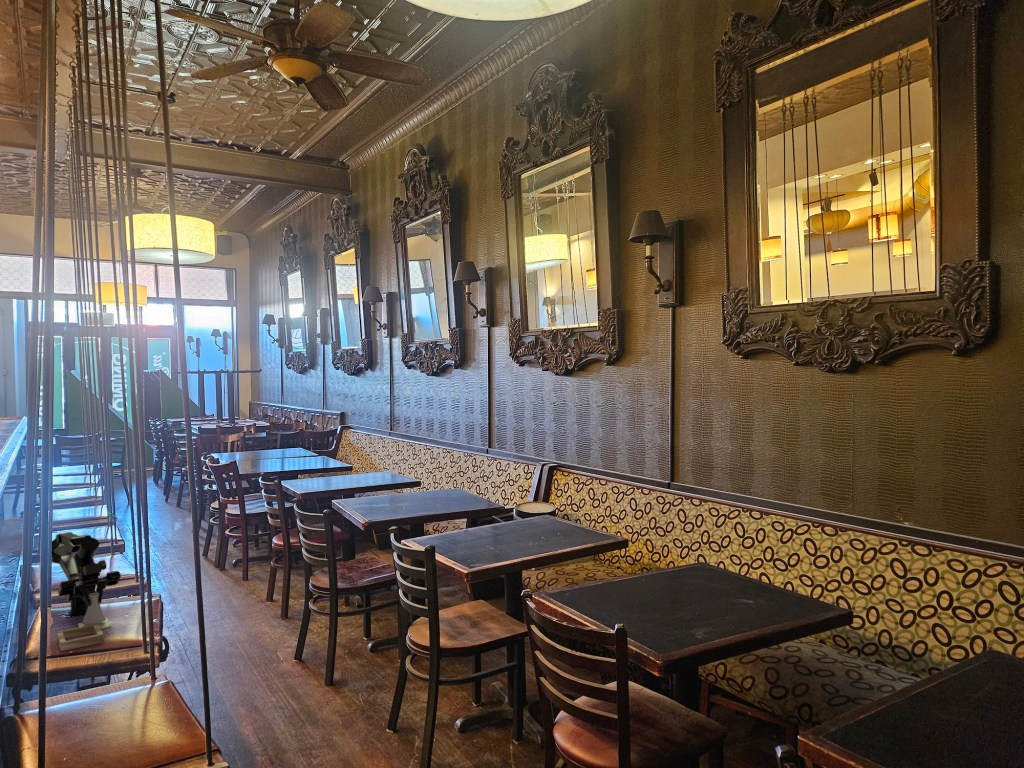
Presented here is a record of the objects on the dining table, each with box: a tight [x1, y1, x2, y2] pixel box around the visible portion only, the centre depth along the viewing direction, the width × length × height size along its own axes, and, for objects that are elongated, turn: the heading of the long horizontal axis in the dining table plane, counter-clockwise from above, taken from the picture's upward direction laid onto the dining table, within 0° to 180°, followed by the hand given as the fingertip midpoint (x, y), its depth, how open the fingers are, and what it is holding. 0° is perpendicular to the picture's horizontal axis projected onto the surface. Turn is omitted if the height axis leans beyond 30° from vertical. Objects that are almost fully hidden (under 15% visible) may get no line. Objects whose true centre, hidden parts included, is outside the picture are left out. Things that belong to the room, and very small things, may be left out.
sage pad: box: [77, 617, 112, 630], centre depth 242 cm, size 9×9×1 cm
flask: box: [82, 592, 106, 625], centre depth 242 cm, size 7×7×10 cm
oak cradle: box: [56, 624, 105, 652], centre depth 230 cm, size 12×12×2 cm
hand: (95, 604), depth 241 cm, fingers closed on flask, 3 cm apart
